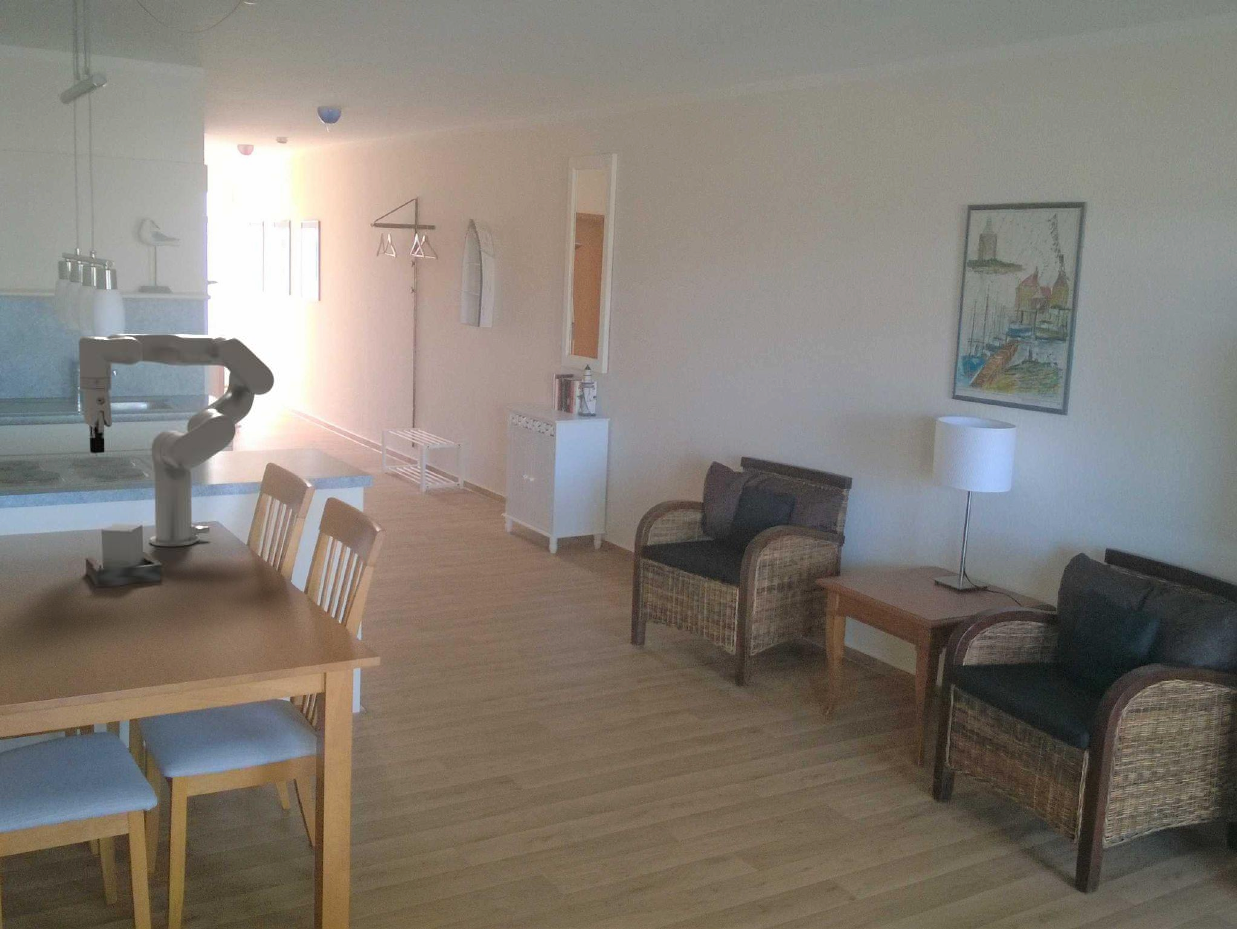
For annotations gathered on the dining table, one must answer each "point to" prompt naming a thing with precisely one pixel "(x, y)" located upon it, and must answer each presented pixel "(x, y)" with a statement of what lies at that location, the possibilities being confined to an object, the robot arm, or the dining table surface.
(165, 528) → the robot arm
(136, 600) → the dining table surface
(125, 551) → the supplement box
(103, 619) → the dining table surface
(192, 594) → the dining table surface
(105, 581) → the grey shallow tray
